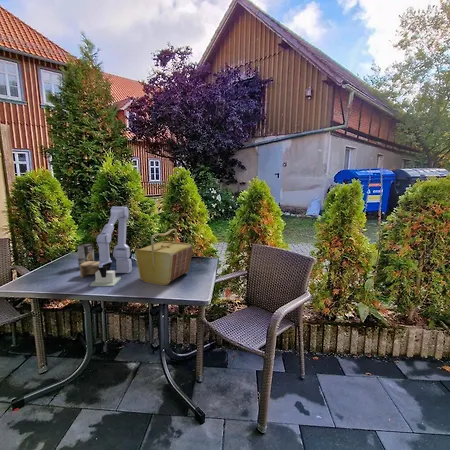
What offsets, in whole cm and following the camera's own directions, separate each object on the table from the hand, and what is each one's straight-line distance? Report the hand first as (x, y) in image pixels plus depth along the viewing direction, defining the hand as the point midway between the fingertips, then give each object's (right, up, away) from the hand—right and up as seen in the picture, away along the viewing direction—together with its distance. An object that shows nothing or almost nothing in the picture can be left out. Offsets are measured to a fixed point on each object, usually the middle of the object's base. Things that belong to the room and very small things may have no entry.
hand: (105, 275), depth 177 cm
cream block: (0, -3, 0) cm, 3 cm away
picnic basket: (+34, -3, +11) cm, 36 cm away
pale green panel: (0, -4, +1) cm, 4 cm away
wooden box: (-12, -2, +12) cm, 17 cm away
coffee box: (-26, +1, +30) cm, 40 cm away
